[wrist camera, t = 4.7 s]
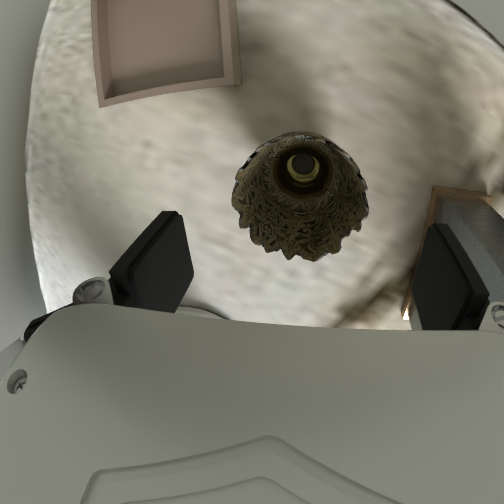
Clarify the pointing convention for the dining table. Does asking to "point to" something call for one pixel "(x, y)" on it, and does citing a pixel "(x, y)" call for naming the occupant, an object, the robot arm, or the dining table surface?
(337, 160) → the cup
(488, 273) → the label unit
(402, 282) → the dining table surface
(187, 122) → the dining table surface
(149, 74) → the tray
